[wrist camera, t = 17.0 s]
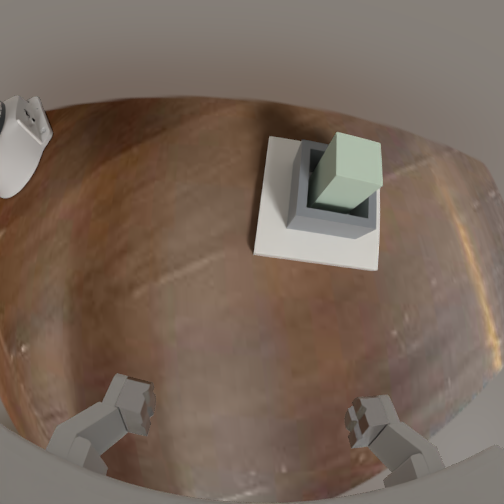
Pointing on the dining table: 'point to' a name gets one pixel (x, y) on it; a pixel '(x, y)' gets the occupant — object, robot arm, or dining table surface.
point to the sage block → (345, 174)
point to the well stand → (311, 214)
